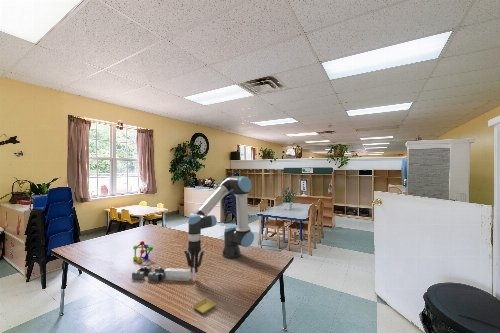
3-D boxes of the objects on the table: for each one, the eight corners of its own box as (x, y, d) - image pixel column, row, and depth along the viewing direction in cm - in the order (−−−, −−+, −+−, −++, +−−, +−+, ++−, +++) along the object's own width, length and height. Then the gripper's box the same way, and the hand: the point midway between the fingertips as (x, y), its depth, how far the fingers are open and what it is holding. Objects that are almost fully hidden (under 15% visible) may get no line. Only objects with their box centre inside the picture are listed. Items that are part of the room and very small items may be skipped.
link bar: (190, 278, 141) (190, 269, 141) (188, 281, 137) (188, 271, 137) (166, 277, 142) (166, 268, 142) (164, 280, 139) (164, 270, 139)
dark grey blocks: (171, 274, 146) (171, 267, 146) (162, 281, 136) (162, 274, 136) (142, 272, 149) (142, 265, 149) (132, 279, 139) (132, 271, 139)
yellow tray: (202, 316, 104) (202, 312, 104) (191, 309, 110) (191, 305, 110) (216, 308, 110) (216, 303, 111) (205, 301, 116) (205, 297, 116)
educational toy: (155, 260, 172) (156, 241, 172) (140, 266, 161) (141, 246, 161) (143, 254, 180) (144, 236, 179) (127, 260, 169) (129, 240, 168)
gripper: (206, 238, 141) (206, 275, 141) (187, 237, 143) (187, 274, 143) (202, 242, 134) (202, 281, 134) (182, 241, 136) (181, 279, 135)
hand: (194, 277), depth 138 cm, fingers closed
